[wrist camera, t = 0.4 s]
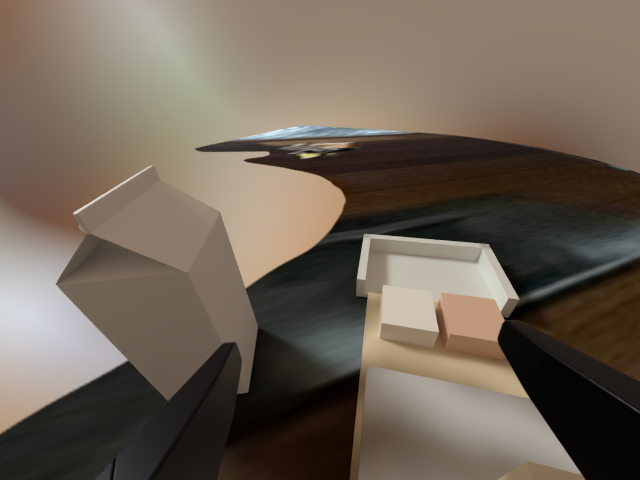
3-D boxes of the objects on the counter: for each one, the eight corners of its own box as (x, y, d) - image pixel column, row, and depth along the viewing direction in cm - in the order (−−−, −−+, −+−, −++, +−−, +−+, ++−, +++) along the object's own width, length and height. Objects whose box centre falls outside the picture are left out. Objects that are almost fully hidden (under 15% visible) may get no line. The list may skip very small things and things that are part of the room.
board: (665, 729, 10) (695, 743, 9) (338, 590, 13) (338, 591, 12) (494, 318, 27) (499, 310, 26) (367, 300, 30) (368, 292, 29)
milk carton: (258, 326, 27) (204, 161, 17) (248, 394, 22) (154, 207, 11) (196, 333, 27) (99, 169, 16) (169, 403, 21) (-9, 221, 11)
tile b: (503, 360, 21) (515, 344, 20) (443, 349, 23) (450, 333, 21) (486, 315, 25) (494, 299, 24) (435, 307, 26) (441, 292, 25)
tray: (508, 317, 27) (519, 299, 25) (356, 295, 30) (357, 278, 29) (481, 261, 35) (488, 244, 33) (363, 249, 38) (364, 233, 37)
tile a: (432, 348, 23) (439, 332, 21) (379, 338, 24) (381, 322, 22) (426, 306, 27) (431, 291, 25) (380, 300, 28) (382, 285, 26)
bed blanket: (674, 725, 9) (1547, 1105, 3) (348, 589, 12) (357, 599, 6) (539, 414, 18) (660, 312, 11) (365, 376, 21) (377, 277, 14)
